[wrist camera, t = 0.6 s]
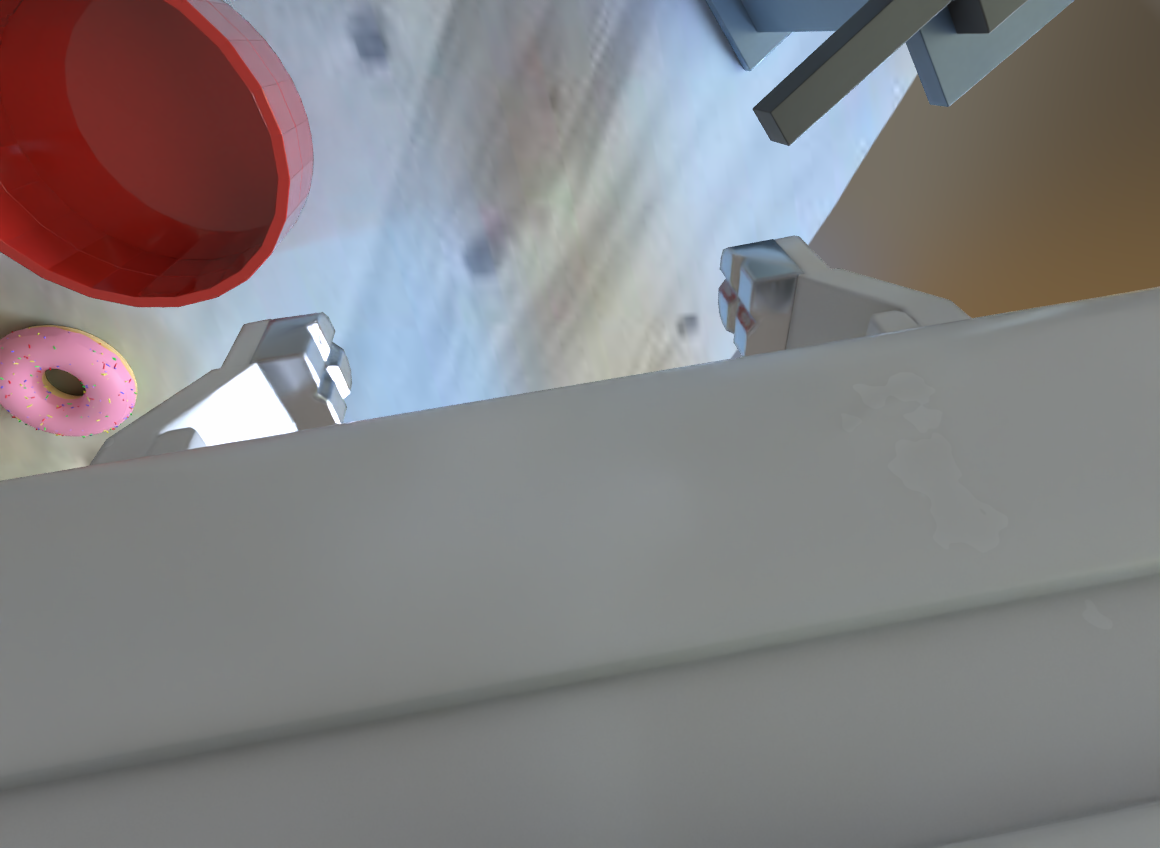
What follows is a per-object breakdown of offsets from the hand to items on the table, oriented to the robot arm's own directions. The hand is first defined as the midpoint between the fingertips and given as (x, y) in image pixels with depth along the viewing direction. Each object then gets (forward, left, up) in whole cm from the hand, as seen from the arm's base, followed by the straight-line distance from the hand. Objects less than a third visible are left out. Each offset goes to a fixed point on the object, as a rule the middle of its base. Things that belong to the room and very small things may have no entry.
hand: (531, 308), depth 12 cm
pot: (-3, -23, -46) cm, 51 cm away
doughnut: (+14, -41, -46) cm, 63 cm away
